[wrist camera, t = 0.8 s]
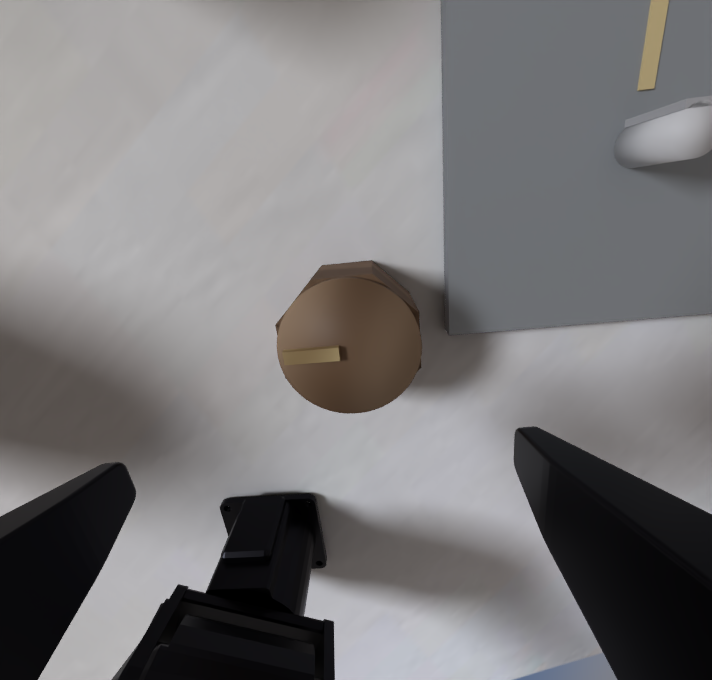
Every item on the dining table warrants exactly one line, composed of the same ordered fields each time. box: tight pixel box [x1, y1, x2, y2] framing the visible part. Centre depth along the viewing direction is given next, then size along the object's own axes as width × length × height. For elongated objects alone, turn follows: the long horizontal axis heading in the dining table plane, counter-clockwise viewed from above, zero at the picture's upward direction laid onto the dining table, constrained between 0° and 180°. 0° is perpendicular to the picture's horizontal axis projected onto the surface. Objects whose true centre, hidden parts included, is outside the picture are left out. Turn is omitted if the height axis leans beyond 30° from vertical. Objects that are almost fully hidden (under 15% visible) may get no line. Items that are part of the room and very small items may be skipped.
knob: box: [275, 260, 422, 413], centre depth 17 cm, size 6×6×5 cm
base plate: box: [441, 0, 712, 335], centre depth 14 cm, size 16×16×4 cm
